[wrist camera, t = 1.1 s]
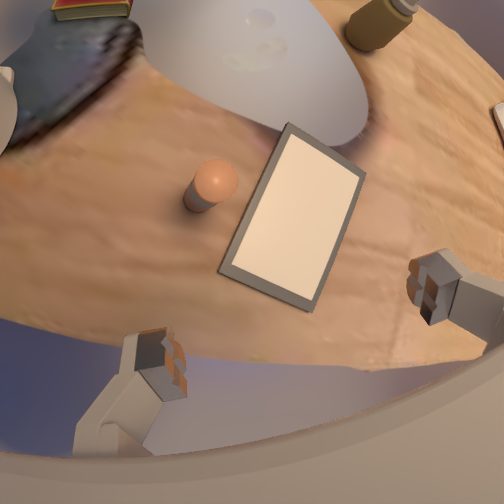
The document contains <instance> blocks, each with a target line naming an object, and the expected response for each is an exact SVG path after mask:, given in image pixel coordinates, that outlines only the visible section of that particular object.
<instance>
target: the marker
mask: <svg viewBox="0 0 504 504" xmlns="http://www.w3.org/2000/svg"><path fill="white" fill-rule="evenodd" d="M237 186H238V176H237V173H236V171H235V169H234V168H233V167H232V165H230V164H229V163H228V162H226V161H224V160H220V159H213V160H209V161H207V162H205V163H203V164H202V165H201V166H200V167H199V169H198V170H197V172H196V173H195V176H194V178H193V180H192V181H191V183H190V184H189V186H188V188H187V189H186V191H185V194H184V203H185V205H186V207H187V208H188V209H189V210H190V211H192V212H196V213H199V212H204V211H206V210H208V209H210V208H211V207H213V206H215V205H216V204H218V203H221V202H224V201H225V200H227V199H229V198H230V197H231V196H232V195H233V194H234V193H235V191H236V189H237Z"/></svg>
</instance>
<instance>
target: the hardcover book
mask: <svg viewBox="0 0 504 504" xmlns="http://www.w3.org/2000/svg"><path fill="white" fill-rule="evenodd" d="M132 3H133V0H54V3H53V5H52V8H51V11H55V14H56V17H57V20H58V21H62V20H70V19H79V18H91V17H105V16H120V17H124V18H127V19H128V18H129V15H130V11H131V6H132Z"/></svg>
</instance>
